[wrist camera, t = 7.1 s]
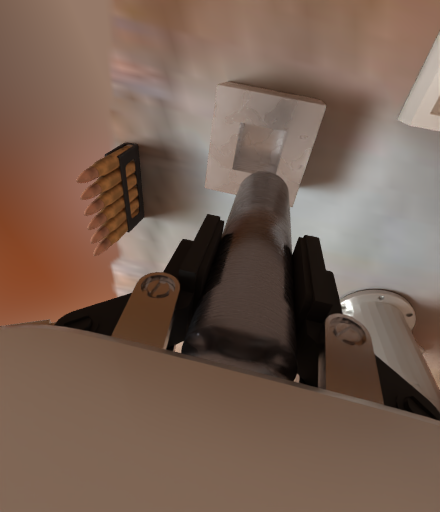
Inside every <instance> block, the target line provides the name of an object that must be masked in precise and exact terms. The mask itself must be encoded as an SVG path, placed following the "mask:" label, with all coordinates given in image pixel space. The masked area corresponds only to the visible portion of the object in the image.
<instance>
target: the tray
mask: <svg viewBox="0 0 440 512" xmlns="http://www.w3.org/2000/svg"><path fill="white" fill-rule="evenodd" d="M397 120H399V121H401V122H403V123H405V124H407V125H409V126H415V127H420V128H425V129H430V130H435V131H440V32H439V34H438V36H437V38H436V40H435V42H434V44H433V46H432V48H431V50H430V52H429V55H428V57H427V59H426V61H425V63H424V65H423V67H422V69H421V71H420V73H419V75H418V77H417V79H416V81H415V83H414V85H413V88H412V90H411V92H410V94H409V96H408V98H407V100H406V102H405V104H404V106H403V108H402V110H401V112H400V114H399V116H398V118H397Z"/></svg>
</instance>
